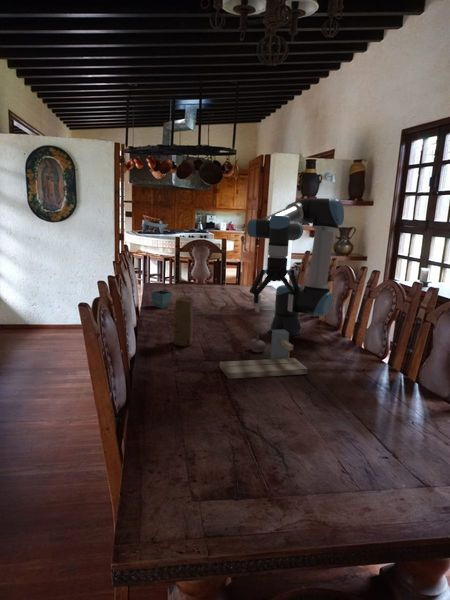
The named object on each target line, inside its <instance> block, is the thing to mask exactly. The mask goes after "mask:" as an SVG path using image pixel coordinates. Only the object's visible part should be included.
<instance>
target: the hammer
mask: <svg viewBox="0 0 450 600" xmlns="http://www.w3.org/2000/svg"><path fill="white" fill-rule="evenodd" d="M289 338H290V336H289V332H287V331H286V330H284V329H282V330H272V332H271V346H270V359H286V358H288V359H287V362H289V358H290V354H291V353H290V352H291V351H294V345H293V344H292V343H290V342H289V340H290V339H289Z"/></svg>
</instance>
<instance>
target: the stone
mask: <svg viewBox="0 0 450 600" xmlns="http://www.w3.org/2000/svg"><path fill="white" fill-rule="evenodd" d="M174 306H175V307H174V315H173V344H174V345H175V346H178V347H179V346H180V347H188V346H191V344H192V343H193V336H194V335H193V333H194V300H193V297H189V296H183V297H182V296H181V297H178V298H177V299H176V301H175V305H174Z"/></svg>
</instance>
